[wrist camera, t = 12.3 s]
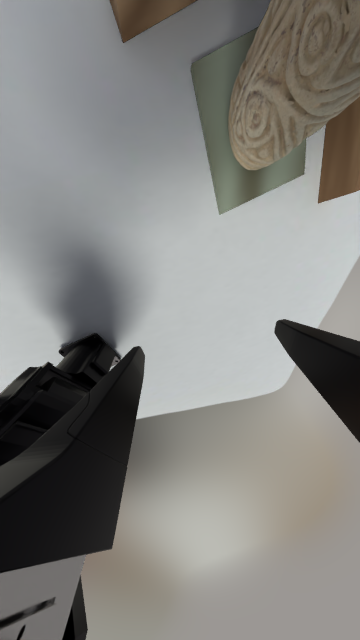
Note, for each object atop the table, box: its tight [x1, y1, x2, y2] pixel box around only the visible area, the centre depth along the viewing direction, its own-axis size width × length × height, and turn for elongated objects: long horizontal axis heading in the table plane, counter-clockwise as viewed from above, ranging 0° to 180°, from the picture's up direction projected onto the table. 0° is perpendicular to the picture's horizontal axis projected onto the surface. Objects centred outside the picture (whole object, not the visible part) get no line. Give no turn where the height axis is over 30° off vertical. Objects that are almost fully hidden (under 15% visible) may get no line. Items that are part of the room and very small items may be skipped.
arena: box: [110, 0, 360, 215], centre depth 11 cm, size 19×18×4 cm
